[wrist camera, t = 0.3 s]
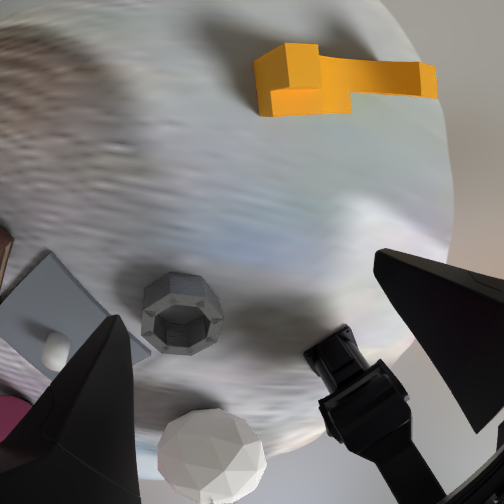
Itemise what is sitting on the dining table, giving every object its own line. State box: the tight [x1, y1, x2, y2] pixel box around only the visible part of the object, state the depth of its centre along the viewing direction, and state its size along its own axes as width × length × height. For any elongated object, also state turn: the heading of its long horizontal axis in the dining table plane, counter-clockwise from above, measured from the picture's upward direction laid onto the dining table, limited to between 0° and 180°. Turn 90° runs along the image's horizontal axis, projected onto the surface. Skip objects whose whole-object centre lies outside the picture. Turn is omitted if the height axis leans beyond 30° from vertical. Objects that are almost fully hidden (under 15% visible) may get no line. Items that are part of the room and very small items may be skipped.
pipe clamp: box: [253, 43, 438, 117], centre depth 16 cm, size 12×4×6 cm, turn 96°
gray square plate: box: [0, 251, 151, 381], centre depth 21 cm, size 14×14×4 cm
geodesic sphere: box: [158, 408, 267, 504], centre depth 29 cm, size 15×14×14 cm
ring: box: [141, 272, 224, 356], centre depth 23 cm, size 7×7×3 cm
